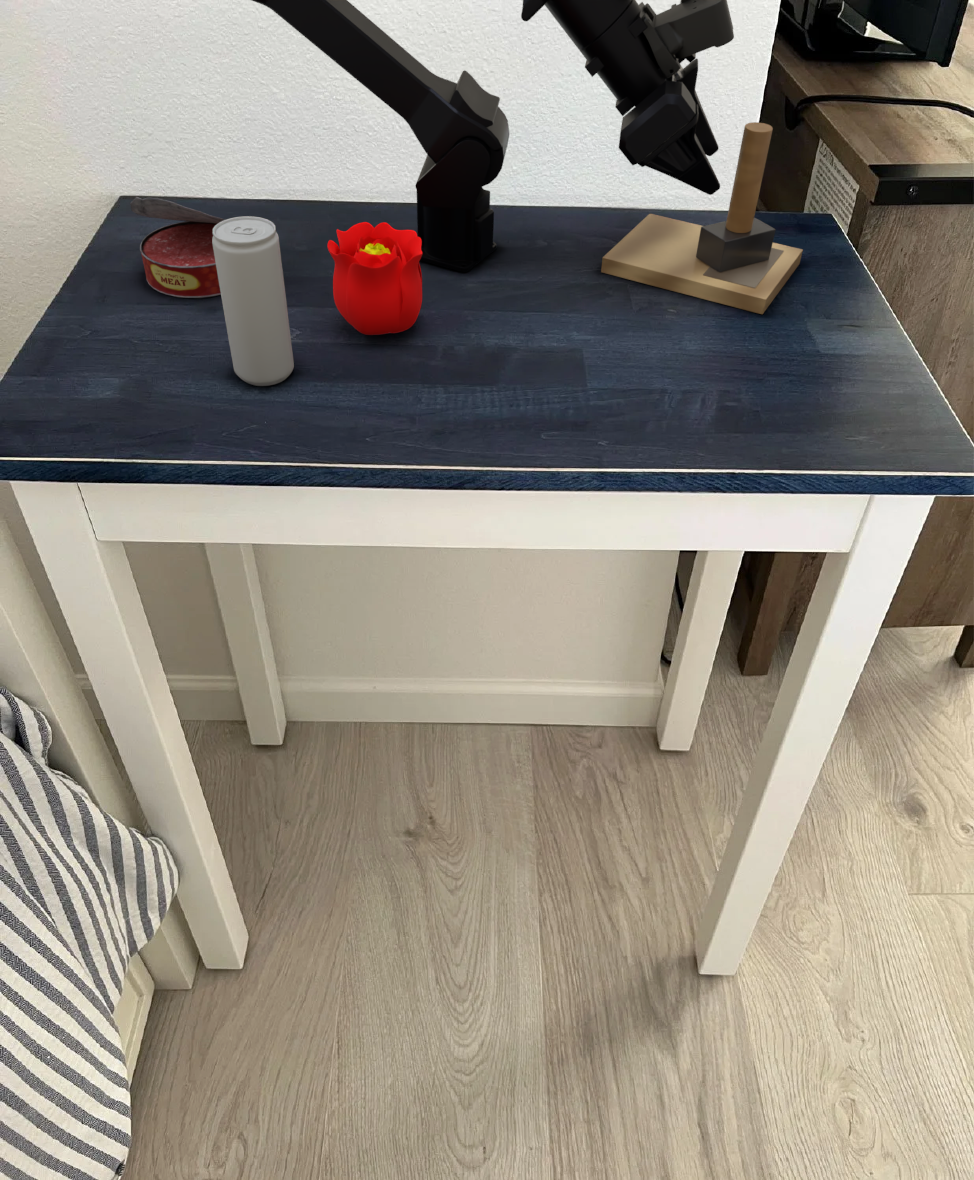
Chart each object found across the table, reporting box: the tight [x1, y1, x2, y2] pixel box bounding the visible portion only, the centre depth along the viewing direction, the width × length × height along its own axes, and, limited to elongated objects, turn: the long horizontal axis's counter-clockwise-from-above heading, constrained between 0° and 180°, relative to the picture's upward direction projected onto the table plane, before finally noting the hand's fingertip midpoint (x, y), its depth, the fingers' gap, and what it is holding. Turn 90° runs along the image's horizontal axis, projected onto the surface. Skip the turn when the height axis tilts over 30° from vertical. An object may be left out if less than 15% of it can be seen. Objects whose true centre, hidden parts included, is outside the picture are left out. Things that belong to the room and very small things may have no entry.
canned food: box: [129, 196, 226, 299], centre depth 92 cm, size 11×10×10 cm
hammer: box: [696, 122, 776, 272], centre depth 92 cm, size 6×4×12 cm, turn 119°
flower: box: [327, 221, 423, 336], centre depth 85 cm, size 8×8×8 cm
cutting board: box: [600, 213, 804, 315], centre depth 97 cm, size 16×12×2 cm
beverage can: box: [212, 215, 295, 387], centre depth 78 cm, size 5×5×12 cm
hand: (715, 171), depth 90 cm, fingers open, 9 cm apart
